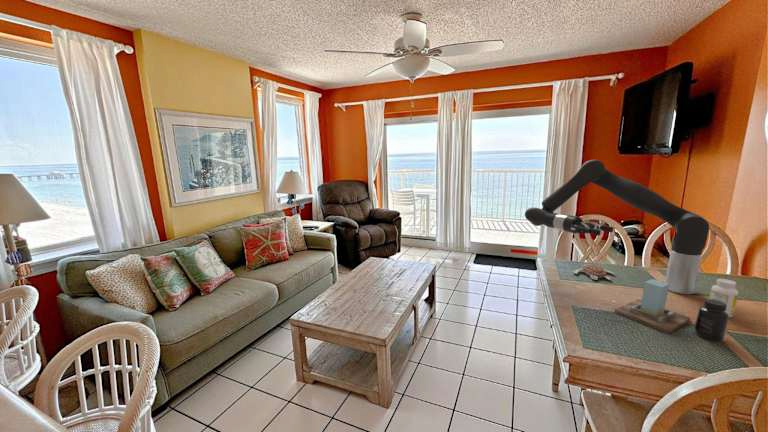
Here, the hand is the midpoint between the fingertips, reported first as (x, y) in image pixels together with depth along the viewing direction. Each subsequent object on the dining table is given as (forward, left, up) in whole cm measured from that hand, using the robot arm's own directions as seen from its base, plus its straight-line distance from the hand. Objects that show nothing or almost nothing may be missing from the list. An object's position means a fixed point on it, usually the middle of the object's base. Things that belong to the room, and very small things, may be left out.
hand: (606, 231), depth 123 cm
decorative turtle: (-7, -23, -29) cm, 38 cm away
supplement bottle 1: (-37, +8, -28) cm, 47 cm away
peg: (-12, +15, -27) cm, 33 cm away
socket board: (-12, +15, -28) cm, 34 cm away
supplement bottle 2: (-23, +25, -28) cm, 44 cm away
